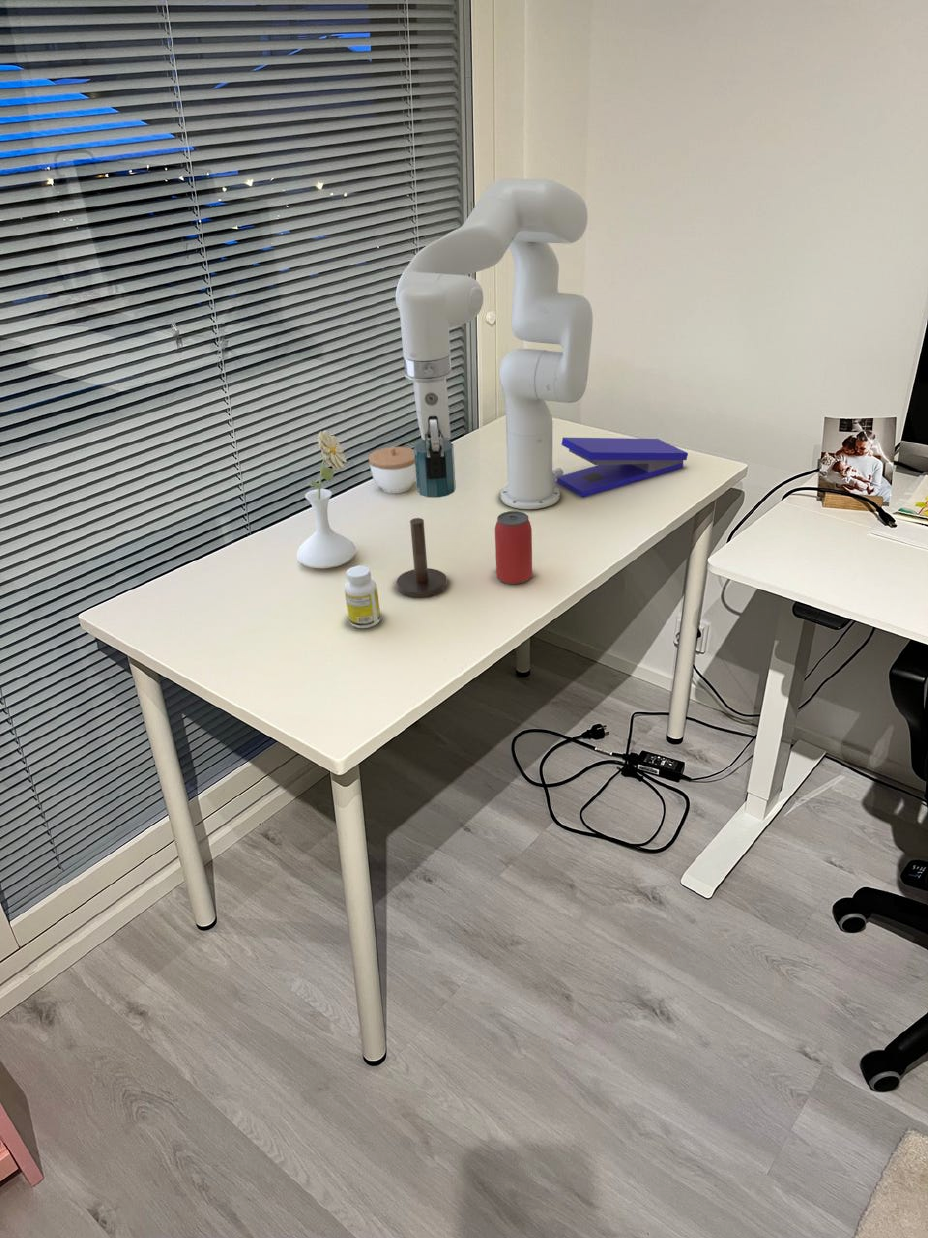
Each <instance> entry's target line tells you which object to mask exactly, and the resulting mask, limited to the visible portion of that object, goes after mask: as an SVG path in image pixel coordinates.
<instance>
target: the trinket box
mask: <svg viewBox="0 0 928 1238" xmlns="http://www.w3.org/2000/svg"><path fill="white" fill-rule="evenodd" d="M368 462H369V468H370V473H371V477H372V479H373V481H374V483H375V484H376V485H377V486H378V487H379V488H380V489H382V491H383V492H384V493H387V494H391V495H393V494H395V495H396V494H402V493H406V492H407V491H409V490H410V488H411V486H412V485H413V484H414V483H415V482H416V468H415V456H414V448H411V447H407V446H388V447H387V446H386V447H383V448H379V449H377V450H374V451H373V452H372V453H370V454H369V456H368ZM388 490H389V491H388ZM397 490H398V491H397Z"/></svg>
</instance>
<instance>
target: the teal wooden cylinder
mask: <svg viewBox="0 0 928 1238" xmlns="http://www.w3.org/2000/svg"><path fill="white" fill-rule="evenodd" d="M430 445H431V442H429V446H430ZM413 450H414V456H415V468H416V479H415V481H416V491H417V493H418V494H419V495H420V496H422V497H425V498H436V499H438V498H439V499H440V498H443V497H444V498H445V497H447V496H450V495H452V494H453V493H455V492H456V489H457V482H456V467H455V466H456V465H455V450H454V444H453V443H452V441H450V440H449V439H445V438H443V451H444V454H445V462H446V478H440V479H428V478H427V468H426V456H427V449H426V441H423V440H421V441H419V442H417V443H415V445H414V446H413Z"/></svg>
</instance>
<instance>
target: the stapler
mask: <svg viewBox="0 0 928 1238" xmlns="http://www.w3.org/2000/svg"><path fill="white" fill-rule="evenodd" d="M560 445H561V446H563V447H564V448H567V449H568V452H570V453H572V454H574V455H575V456H577V457H578V458H581V459H583V460H585V461H587V462H588V463H591V464H592V465H593V466H590V467H586V468H583V469H579V470H576V471H573V472H569V473H566V474H563V475H562V476H560V477H559V478H557V479H556V483H557V484H559V485H560V486H562V487H564V488H566V489H567V490H569V491H571V492H573V493H574V494H576V495H577V496H580V497H581V498H587V497H589V496H592V495H596V494H599V493H602V492H606V491H610V490H613V489H616V488H620V487H623V486H626V485H630V484H633V483H637V482H640V481H644V480H647V479H650V478H653V477H657V476H660V475H663V474H667V473H670V472H674V471H677V470H680V469H683V468H684V461H688V460H687V459H688V456H689V452H687V451H685V450H683V449H681V448H679V447H677V446H674V445H672V444H670V443H667V442H665V441H663V440H661V439H660V438H621V437H619V438H617V437H614V438H613V437H562V439H561V444H560Z"/></svg>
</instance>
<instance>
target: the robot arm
mask: <svg viewBox="0 0 928 1238" xmlns="http://www.w3.org/2000/svg"><path fill="white" fill-rule="evenodd" d="M588 217H589V215H588V208H587V204H586V202H585V200H584V198H583V197H582V196H581V195H580V194H579V193H578V192H576V191H574V190H572V189H571V188H569V187H568V186H566V185H564V184H561V183H560V182H558V181H555V180H553V179H548V178H518V177H517V178H514V177H513V178H512V177H511V178H508V177H507V178H501V179H497V180H495V181H493V182H492V183H490V184H489V185H488V186H487V187H486V189H485V191H484V192H483V193H482V195H481V197H480V198H479V199H478V201H477V202H476V203H475V205H474V207H473V209H472V210H471V212H470V213H469V215H468V217H466V219H465V221H464V222H463V224H462V225H461V226H460V227H459V228H457V229H455V230H453V231H450V232H448V233H446V234H444V235H443V236H441V237H439V238H437V239H435V240H434V241H432V242H431V243H429V244H427V245H426V246H425V247H423V248H422V249H420V250H419V251H417V253H415V255H414V256H413V257H412V259H411V260H410V261H409V263H408V264H407V266H406V267H405V269H404V271H402V274H401V276H400V278H399V280H398V283H397V287H396V290H395V304H396V308H397V310H398V311H399V318H400V320H399V321H400V329H401V330H400V331H401V343H402V354H403V364H404V376H405V378H406V379H407V380H409V381H412V382H413V383H412V385H413V393H414V405H415V412H416V418H417V423H418V428H419V432H420V436H421V440H422V441H426V449H427V456H426V468H427V478H428V479H440V478H446V462H445V454H444V451H443V439H446V440H449V439H450V438H451V437H452V434H451V423H450V409H449V395H448V385H447V379H448V378H449V377H451V376H452V357H451V356H452V355H451V340H450V328H452V327H457V326H461V325H466V324H468V323H470V322H472V321H473V320H474V319H475V318H477V316H478V315H479V314H480V313H481V310H482V308H483V304H484V291H483V288H482V285H481V284H480V282H479V281H477V279H475V278H473V277H472V276H469V275H471V274H474V273H478V272H481V271H484V270H487V269H490V268H492V267H494V266H496V265H497V264H499V262H500V261H502V259H503V257H504V256H505V254H506V252H507V251H508V249H509V250H510V253H511V256H512V259H513V265H514V276H513V277H514V279H513V281H514V282H513V293H512V305H511V331H512V333H513V335H514V337H516V338H517V339H518V340H521V341H525V342H528V343H537V344H549V345H559V346H561V349H562V351H553V350H551V351H550V350H545V349H533V348H517V349H514V350H511V351H509V352H507V353H506V354H505V355H504V356H503V357H502V360H501V362H500V365H499V381H500V386H501V390H502V395H503V401H504V411H505V433H506V434H505V436H506V437H505V438H506V439H505V440H506V442H505V443H506V476H507V477H506V479H507V485H506V486H505V487H504V488H502V490H501V491H500V500H501V501H502V503H504V505H507V506H508V507H512V508H515V509H520V510H539V509H543V508H547V507H551V506H552V505H555V503H557V502H558V501H559V500H560V497H561V492H560V489H559V488H558V487H557V486H556V485H555V482H556V481H557V478H559V477H560V476H562V475H564V471H563V469H562V468H560V467H557V468H555V469H553V416H552V413H551V410H550V408H549V405H548V404H547V402H554V403H555V402H556V403H565V404H572V403H576V402H578V401H580V400H581V399H582V397H584V395H585V391H586V389H587V383H588V376H589V368H590V367H589V366H590V357H591V345H592V336H593V323H594V316H593V309H592V306H591V303H590V301H589V300H588V299H587V298H586V297H585V296H584V295H581V294H577V293H566V292H565V293H564V292H559V288H558V285H559V274H560V267H559V265H560V263H559V261H558V258H557V255H556V254H555V252H554V250H553V248H552V247H551V245H550V244H574V243H576V242H578V241H579V240H580V239H581V238H582V237H583V236H584V233H585V232H586V229H587V225H588V220H589V219H588ZM546 401H547V402H546ZM429 442H431V445H430V446H429Z"/></svg>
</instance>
